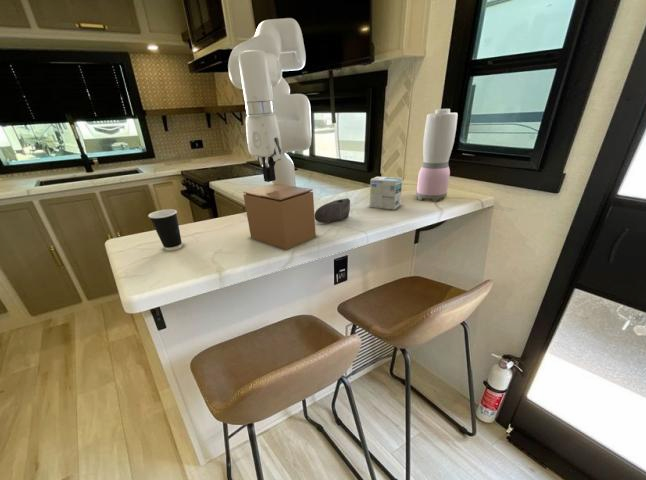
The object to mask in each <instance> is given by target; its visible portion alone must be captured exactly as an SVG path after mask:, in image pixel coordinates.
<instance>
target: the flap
mask: <svg viewBox="0 0 646 480" xmlns="http://www.w3.org/2000/svg"><path fill="white" fill-rule="evenodd" d="M288 187H292V186H287V185H281V184H276V183H275V184H271V183H270V184H268V185H264V186H260V187H256V188H251V189H249V190H244V191H242V193H243V194H250V195H254V196H259V197H261V195H263V194H267V193H270V192H274V191H278V190H281V189H285V188H288Z"/></svg>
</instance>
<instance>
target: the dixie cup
mask: <svg viewBox="0 0 646 480" xmlns="http://www.w3.org/2000/svg"><path fill="white" fill-rule="evenodd" d="M177 213H178V211H177V210H176V209H171V208H168V209H160V210H156V211H153V212H150V213H149V214H148V215H147V217H148V218H149V219H150V221H151V223H152V225H153V228H154V229H155V231H156V233H157V236H158V237H159V240H160V243H161V244H162V246H163V248H164V249H165V250H166V251H176V250H179V249H181V248H182V246H183V245H182V243H183V242H182V237H181V233H180V232H181V231H180V225H179V220H178V214H177Z"/></svg>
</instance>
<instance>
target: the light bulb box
mask: <svg viewBox="0 0 646 480" xmlns="http://www.w3.org/2000/svg"><path fill="white" fill-rule="evenodd" d="M369 187H370V189H369V190H370V192H369V208H376V209H384V210H396V209H397V208H399V207H400V206H401V203H402V202H401V201H402V190H403V189H402V188H403V177H393V176H375V177H372V178H371V179H370V186H369Z"/></svg>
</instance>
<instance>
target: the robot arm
mask: <svg viewBox="0 0 646 480" xmlns="http://www.w3.org/2000/svg"><path fill="white" fill-rule="evenodd" d="M306 57H307V55H306V48H305V44H304V37H303V33H302V29H301V27H300V24H299V23H298V21H297V20H296V19H294V18H292V17H285V18H273V19H266V20H263V21H261V22H260V23H259V24H258V26H257V28H256V29H255V33H254V36H252V37H250V38H249V39H247V40H245V41H243V42H241V43H239V44H238V45H236V46H234V47H233V49H232V51H231V52H230V55H229V58H228V62H227V63H228V64H227V69H228V76H229V79H230V82H231V83H232V85H233V86H234V87H235V88H237V89H239V90H242V92H243V98H244V104H245V111H246V116H245V133H246V141H247V149H248V153H249V154H250V155H251V156H253V159H255V160H257V161H258V162H259V164H260V167H261V168H262V169H261V170H262V175H263V181H264V182H267V183H270V185H271V184H275V183H276V184H281V185H287V186H295V187H297V184H296V173H295V165H294V162H293V160H292V159H291V157H290V156H289V154H287V153H288V152H302V151H307V150H309V149H310V147H311V145H312V111H311V103H310V100H309V97H308V96H307V95H305V94H303V93H291V88H290V85H289V82H287V81H286V80H285V78H284V77H283V72H289V71H300V70H302V69H303V68H304V67H305V66H306V61H307V60H306V59H307V58H306Z"/></svg>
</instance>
